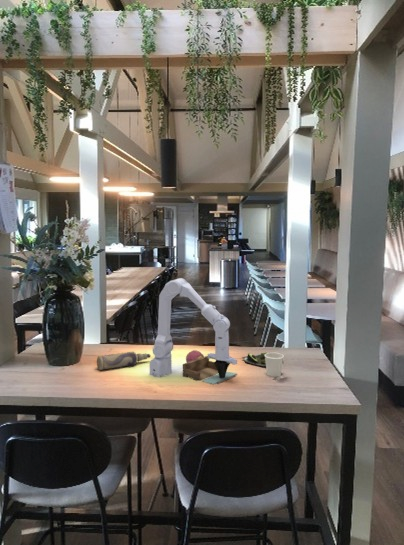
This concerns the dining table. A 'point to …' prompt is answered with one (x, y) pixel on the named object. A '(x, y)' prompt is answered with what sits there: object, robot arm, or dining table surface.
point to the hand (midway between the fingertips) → (222, 377)
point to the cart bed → (199, 369)
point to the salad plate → (256, 360)
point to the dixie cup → (274, 364)
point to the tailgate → (217, 379)
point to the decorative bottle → (119, 360)
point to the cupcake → (193, 355)
